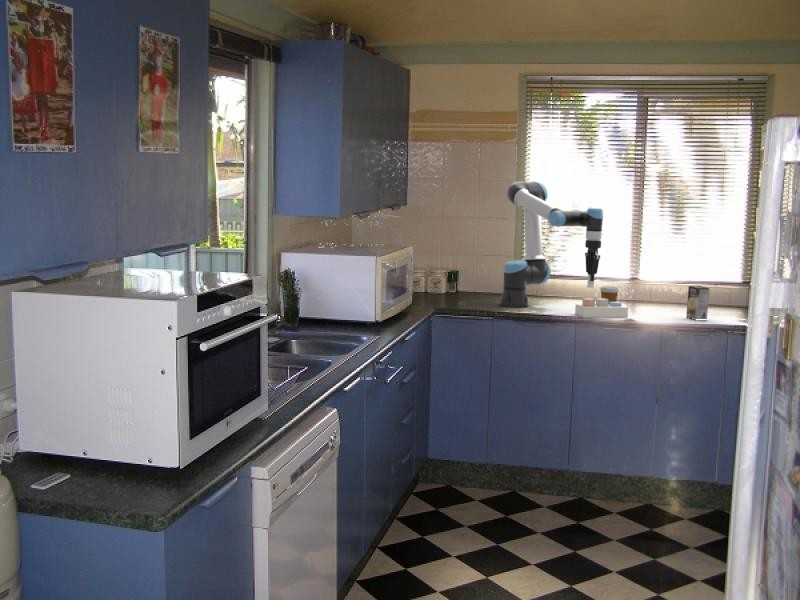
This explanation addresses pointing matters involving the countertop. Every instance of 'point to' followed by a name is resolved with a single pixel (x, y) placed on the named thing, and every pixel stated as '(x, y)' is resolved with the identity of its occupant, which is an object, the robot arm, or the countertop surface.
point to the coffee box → (697, 302)
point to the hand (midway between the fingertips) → (590, 287)
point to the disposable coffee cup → (609, 293)
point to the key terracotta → (588, 302)
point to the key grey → (601, 302)
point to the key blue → (614, 303)
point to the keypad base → (601, 311)
